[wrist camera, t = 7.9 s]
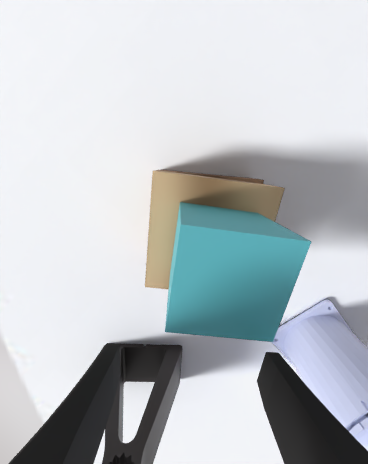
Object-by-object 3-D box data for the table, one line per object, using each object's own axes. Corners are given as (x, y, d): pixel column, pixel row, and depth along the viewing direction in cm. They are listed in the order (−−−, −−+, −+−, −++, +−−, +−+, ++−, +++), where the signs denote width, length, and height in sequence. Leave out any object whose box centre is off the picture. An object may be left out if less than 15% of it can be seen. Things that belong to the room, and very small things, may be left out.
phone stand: (182, 345, 23) (185, 522, 11) (179, 379, 25) (179, 560, 13) (107, 343, 22) (32, 523, 11) (110, 378, 24) (49, 562, 13)
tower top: (263, 183, 14) (284, 187, 11) (240, 275, 17) (252, 297, 14) (158, 170, 14) (152, 170, 11) (151, 266, 16) (144, 286, 13)
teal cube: (258, 213, 12) (311, 241, 7) (239, 280, 13) (273, 341, 9) (179, 201, 11) (180, 224, 7) (170, 273, 13) (165, 332, 8)
